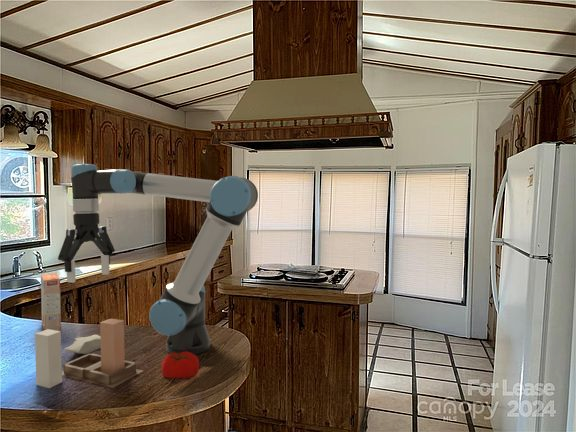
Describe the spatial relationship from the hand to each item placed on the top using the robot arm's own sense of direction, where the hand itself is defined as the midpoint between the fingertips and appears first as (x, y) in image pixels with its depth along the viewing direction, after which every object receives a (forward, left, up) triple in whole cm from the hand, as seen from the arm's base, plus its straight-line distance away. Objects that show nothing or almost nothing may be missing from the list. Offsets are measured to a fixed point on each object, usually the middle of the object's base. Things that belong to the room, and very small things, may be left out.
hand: (89, 278), depth 135 cm
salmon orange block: (-15, +13, -25) cm, 32 cm away
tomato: (-34, +7, -27) cm, 44 cm away
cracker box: (+34, -27, -27) cm, 51 cm away
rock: (+6, -8, -27) cm, 29 cm away
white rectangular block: (-1, +20, -27) cm, 34 cm away
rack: (-10, +12, -27) cm, 31 cm away
